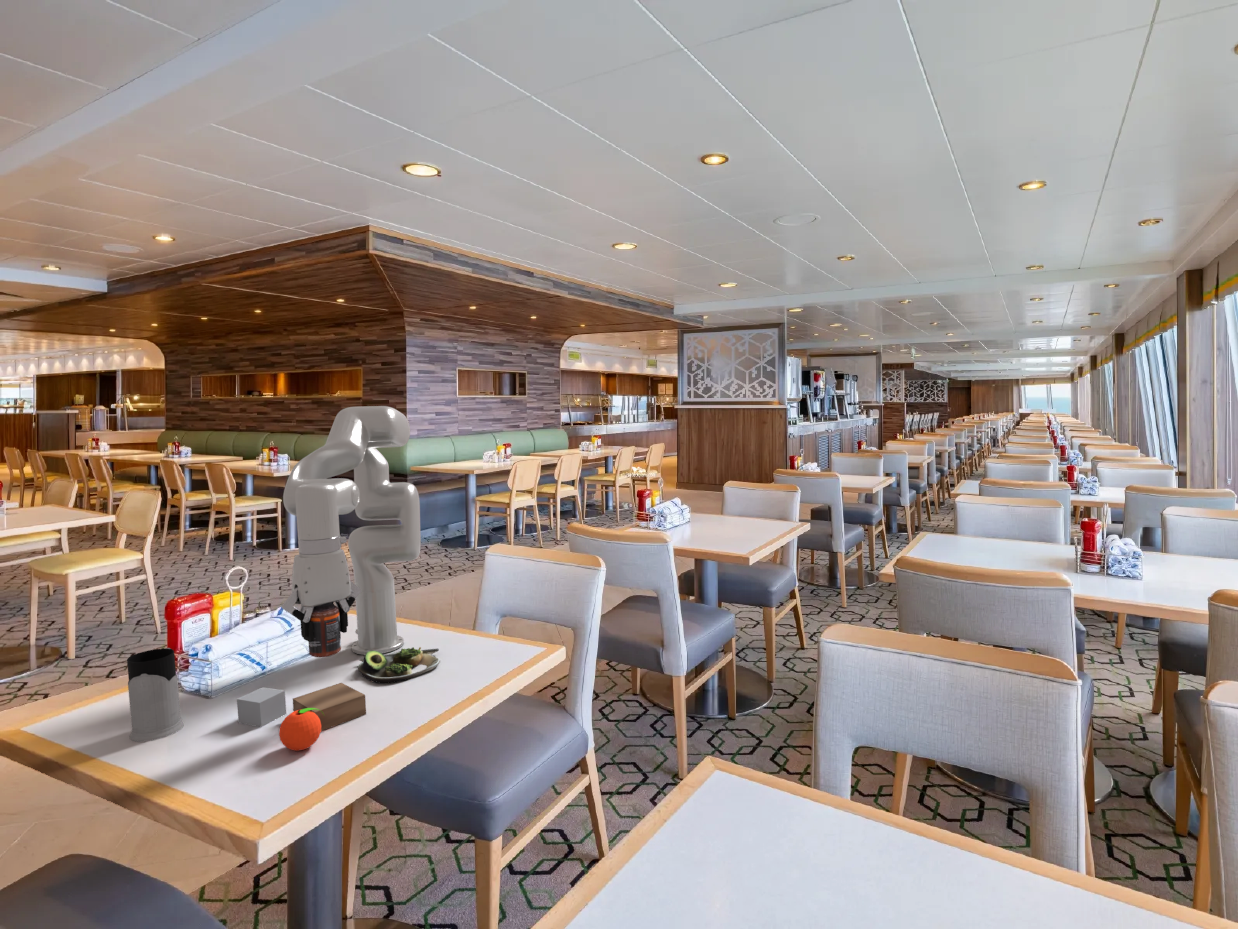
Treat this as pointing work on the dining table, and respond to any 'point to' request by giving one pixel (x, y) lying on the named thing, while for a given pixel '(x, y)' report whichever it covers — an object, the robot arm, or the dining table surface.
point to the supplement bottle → (325, 630)
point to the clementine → (300, 729)
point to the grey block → (261, 706)
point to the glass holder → (153, 695)
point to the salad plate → (396, 664)
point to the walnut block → (333, 704)
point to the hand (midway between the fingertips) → (325, 635)
